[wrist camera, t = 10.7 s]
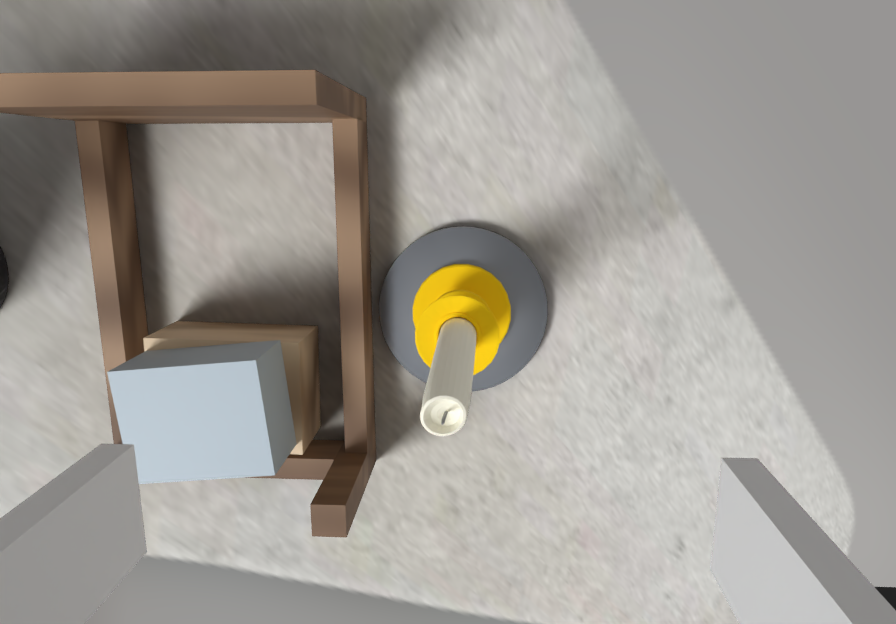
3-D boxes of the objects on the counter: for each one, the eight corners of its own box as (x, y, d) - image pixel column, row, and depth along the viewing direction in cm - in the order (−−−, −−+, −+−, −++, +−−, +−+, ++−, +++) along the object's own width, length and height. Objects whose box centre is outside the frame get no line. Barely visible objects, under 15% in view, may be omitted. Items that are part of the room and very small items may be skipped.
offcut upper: (146, 350, 33) (106, 371, 30) (280, 340, 33) (255, 360, 29) (166, 452, 34) (131, 484, 31) (296, 444, 34) (274, 475, 30)
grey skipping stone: (378, 225, 35) (377, 226, 34) (549, 226, 34) (550, 227, 34) (382, 386, 37) (380, 390, 36) (544, 389, 36) (544, 393, 36)
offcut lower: (179, 319, 37) (143, 338, 33) (319, 324, 36) (299, 343, 33) (187, 419, 38) (152, 448, 34) (321, 425, 38) (302, 454, 34)
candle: (530, 320, 35) (563, 439, 20) (453, 377, 36) (428, 532, 20) (470, 243, 34) (455, 304, 19) (393, 303, 35) (321, 407, 20)
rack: (101, 100, 34) (-54, 73, 24) (366, 98, 33) (315, 70, 24) (141, 454, 39) (23, 552, 29) (375, 460, 38) (336, 563, 28)
